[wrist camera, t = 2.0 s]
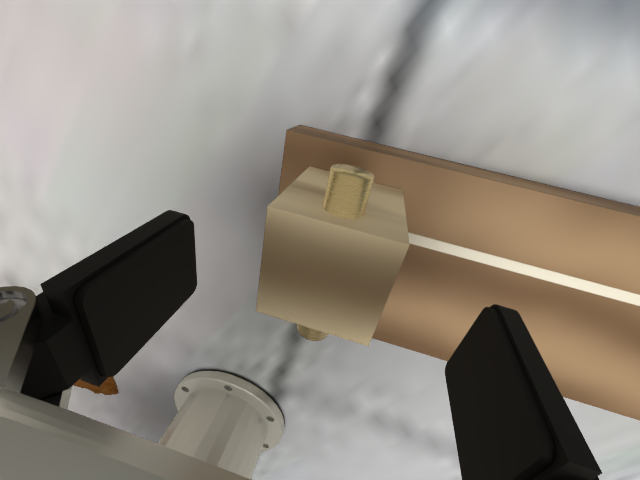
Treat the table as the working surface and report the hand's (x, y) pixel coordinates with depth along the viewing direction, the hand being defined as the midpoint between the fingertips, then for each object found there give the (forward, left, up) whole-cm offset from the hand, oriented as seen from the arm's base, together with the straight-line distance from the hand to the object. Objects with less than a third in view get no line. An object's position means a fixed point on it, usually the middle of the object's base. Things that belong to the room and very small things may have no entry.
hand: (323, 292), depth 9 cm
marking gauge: (-1, 0, -8) cm, 8 cm away
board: (-3, -10, -10) cm, 15 cm away
